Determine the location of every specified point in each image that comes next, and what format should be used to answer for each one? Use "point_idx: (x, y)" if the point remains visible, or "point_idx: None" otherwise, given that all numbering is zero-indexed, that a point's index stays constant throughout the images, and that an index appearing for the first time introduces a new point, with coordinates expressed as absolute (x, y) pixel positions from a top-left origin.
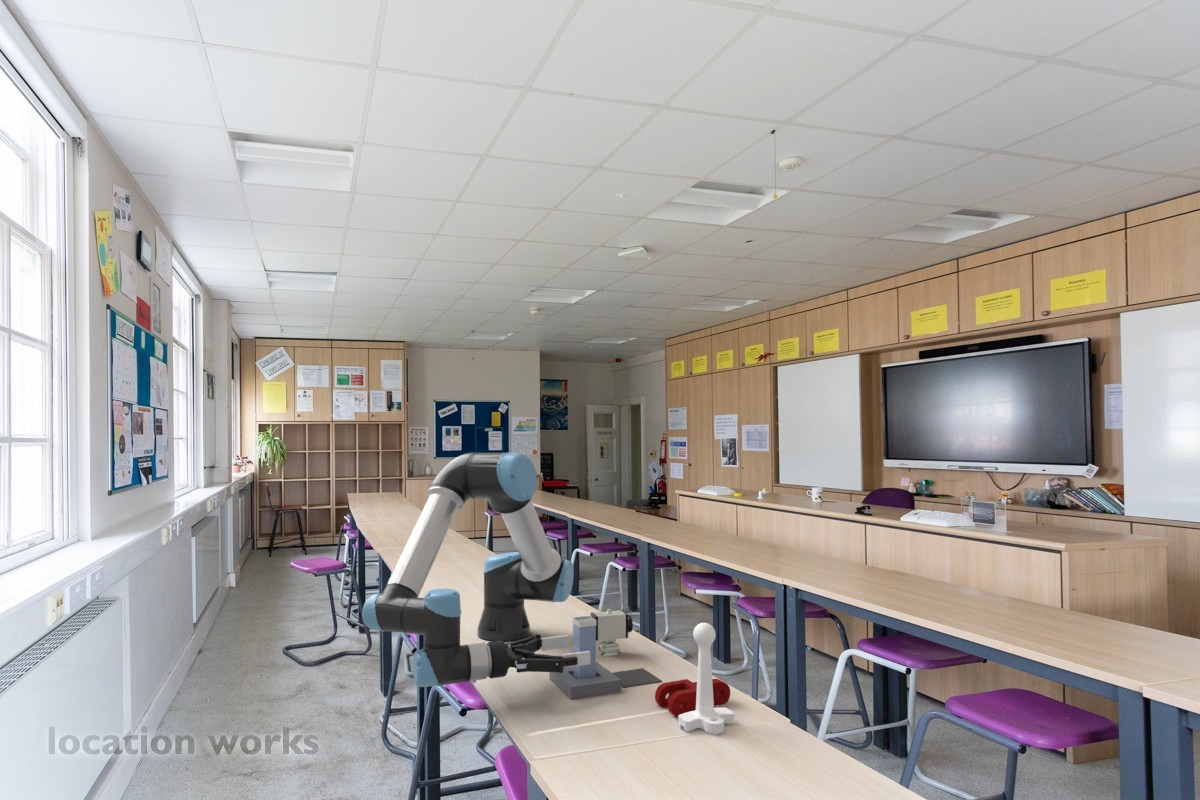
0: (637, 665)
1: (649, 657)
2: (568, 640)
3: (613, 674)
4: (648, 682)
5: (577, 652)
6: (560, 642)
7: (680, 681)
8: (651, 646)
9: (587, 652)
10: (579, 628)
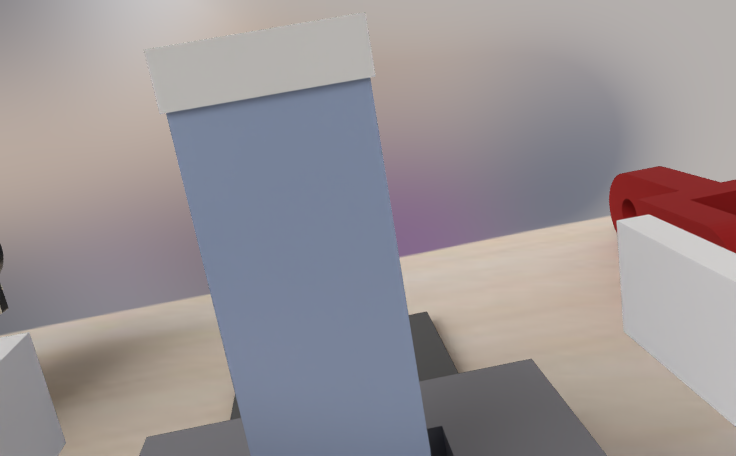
0: (169, 369)
1: (113, 341)
2: (43, 377)
3: (427, 381)
4: (434, 338)
5: (692, 256)
6: (6, 440)
7: (674, 204)
8: (8, 335)
9: (665, 224)
10: (369, 92)
